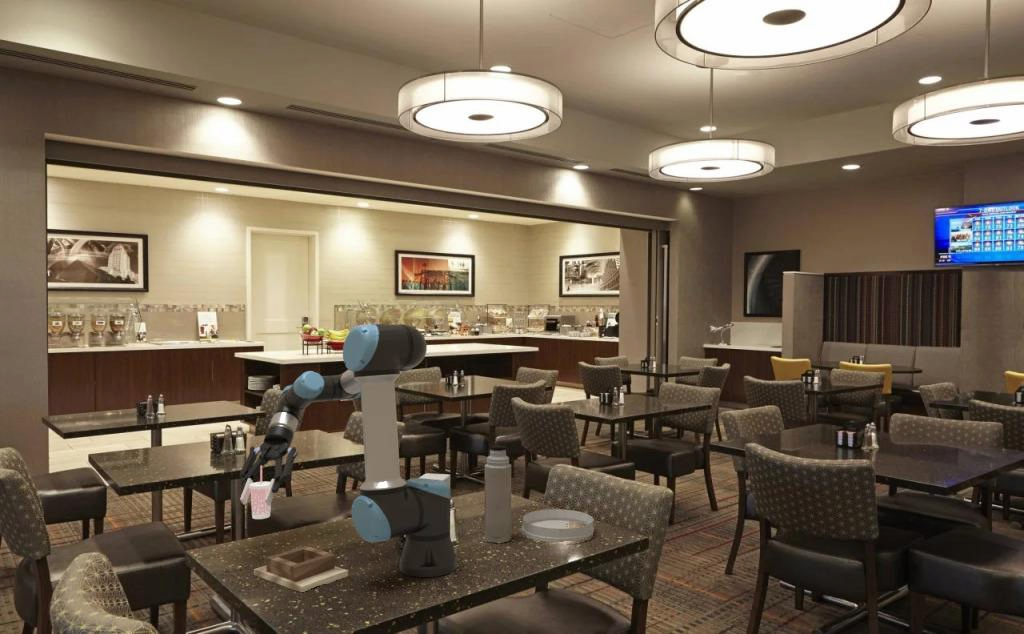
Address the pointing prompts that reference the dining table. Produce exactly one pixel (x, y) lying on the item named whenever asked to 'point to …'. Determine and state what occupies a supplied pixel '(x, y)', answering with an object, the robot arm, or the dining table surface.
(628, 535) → the dining table surface
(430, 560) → the robot arm
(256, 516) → the beverage cup
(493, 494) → the thermos bottle
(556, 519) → the dish
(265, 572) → the collar stand
